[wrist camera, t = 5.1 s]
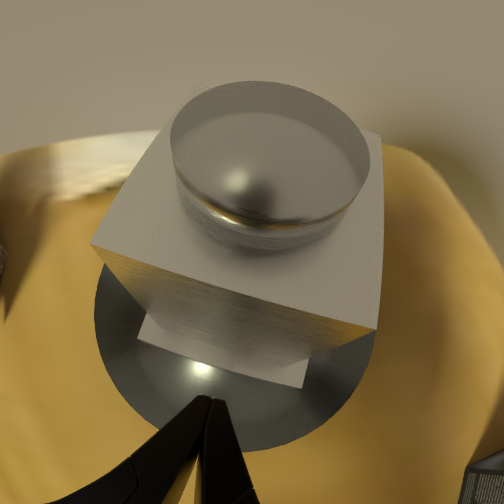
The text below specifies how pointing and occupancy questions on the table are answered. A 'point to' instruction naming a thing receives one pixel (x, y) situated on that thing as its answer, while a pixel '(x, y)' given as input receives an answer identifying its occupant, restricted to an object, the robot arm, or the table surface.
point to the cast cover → (252, 231)
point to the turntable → (219, 378)
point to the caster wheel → (2, 258)
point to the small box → (484, 481)
